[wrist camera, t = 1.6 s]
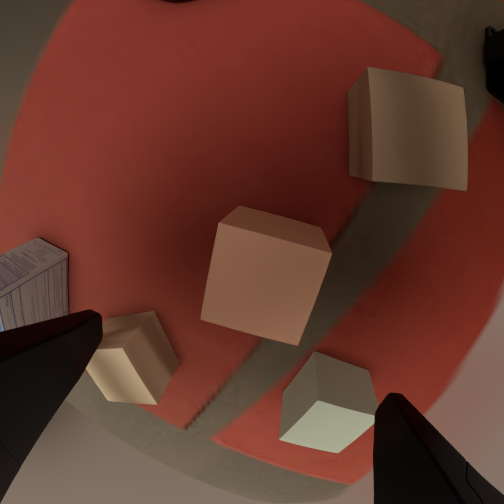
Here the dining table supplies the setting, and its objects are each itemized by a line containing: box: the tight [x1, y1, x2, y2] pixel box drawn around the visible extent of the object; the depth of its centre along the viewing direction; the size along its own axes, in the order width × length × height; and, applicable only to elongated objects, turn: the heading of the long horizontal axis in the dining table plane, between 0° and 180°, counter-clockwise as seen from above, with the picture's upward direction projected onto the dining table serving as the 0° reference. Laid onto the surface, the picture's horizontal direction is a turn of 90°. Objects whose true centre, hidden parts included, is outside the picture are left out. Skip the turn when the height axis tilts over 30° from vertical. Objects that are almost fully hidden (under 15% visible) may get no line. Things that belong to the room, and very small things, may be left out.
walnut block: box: [347, 67, 468, 191], centre depth 12 cm, size 5×5×5 cm
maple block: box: [86, 311, 180, 404], centre depth 19 cm, size 5×5×5 cm
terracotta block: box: [200, 205, 332, 346], centre depth 15 cm, size 5×5×5 cm
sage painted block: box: [279, 351, 378, 453], centre depth 18 cm, size 5×5×5 cm
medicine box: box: [0, 238, 69, 332], centre depth 17 cm, size 8×4×9 cm, turn 161°
